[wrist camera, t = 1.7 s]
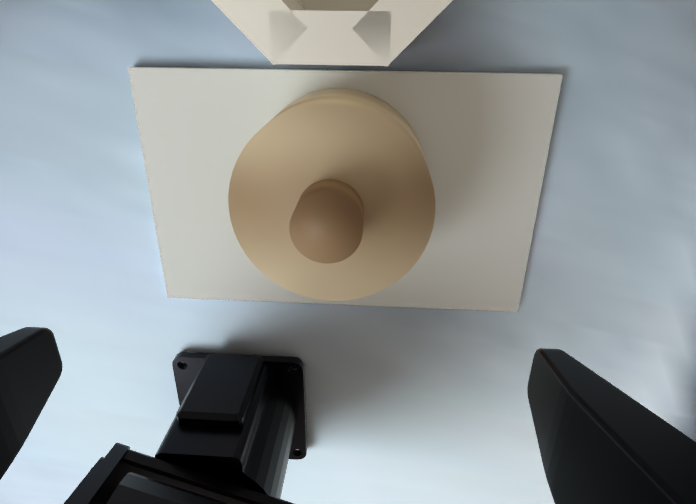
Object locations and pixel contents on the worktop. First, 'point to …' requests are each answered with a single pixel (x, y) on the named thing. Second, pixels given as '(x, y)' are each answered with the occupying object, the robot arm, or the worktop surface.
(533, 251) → the worktop surface
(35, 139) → the worktop surface
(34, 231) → the worktop surface
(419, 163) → the lid
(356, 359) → the worktop surface
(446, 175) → the mat
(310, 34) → the bowl
